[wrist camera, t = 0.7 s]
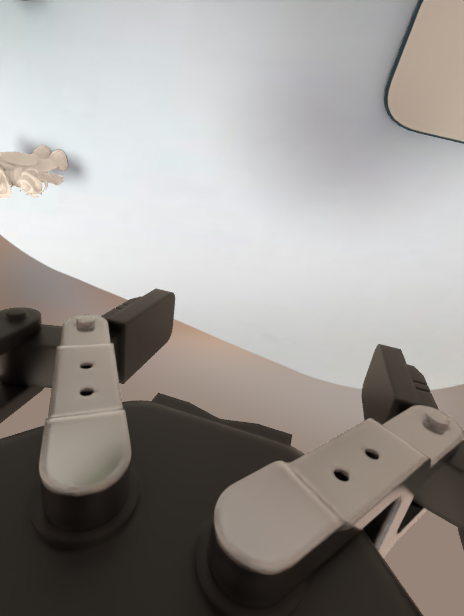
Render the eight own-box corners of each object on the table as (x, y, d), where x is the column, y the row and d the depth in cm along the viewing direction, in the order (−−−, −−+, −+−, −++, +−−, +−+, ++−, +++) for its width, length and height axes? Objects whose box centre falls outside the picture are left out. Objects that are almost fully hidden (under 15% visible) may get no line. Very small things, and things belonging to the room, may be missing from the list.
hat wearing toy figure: (83, 152, 43) (12, 183, 34) (85, 182, 46) (19, 218, 37) (18, 129, 44) (-69, 154, 35) (23, 160, 46) (-57, 191, 37)
